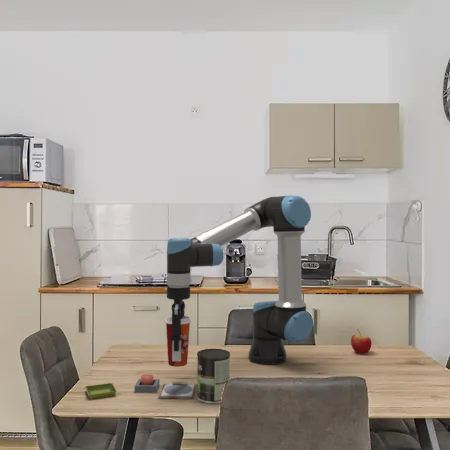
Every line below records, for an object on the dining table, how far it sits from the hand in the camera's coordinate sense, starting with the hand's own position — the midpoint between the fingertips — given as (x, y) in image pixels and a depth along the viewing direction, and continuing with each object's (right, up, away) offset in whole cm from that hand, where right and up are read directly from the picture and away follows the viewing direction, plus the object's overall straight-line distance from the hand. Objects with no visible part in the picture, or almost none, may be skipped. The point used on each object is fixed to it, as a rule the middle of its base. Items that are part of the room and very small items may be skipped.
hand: (178, 357), depth 154 cm
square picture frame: (0, -11, 0) cm, 11 cm away
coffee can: (+12, -12, -5) cm, 17 cm away
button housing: (-10, -11, +3) cm, 16 cm away
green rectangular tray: (-24, -12, -2) cm, 27 cm away
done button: (-10, -10, +3) cm, 15 cm away
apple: (+72, -11, +47) cm, 87 cm away
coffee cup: (0, -2, 0) cm, 2 cm away
